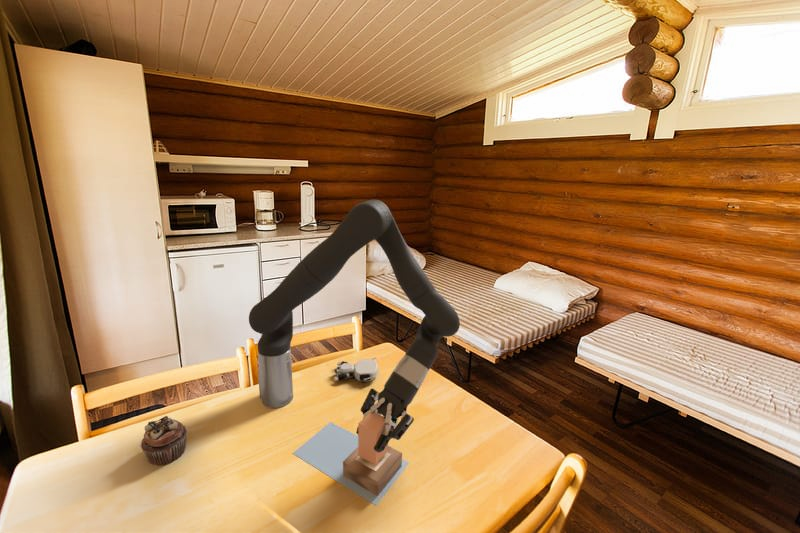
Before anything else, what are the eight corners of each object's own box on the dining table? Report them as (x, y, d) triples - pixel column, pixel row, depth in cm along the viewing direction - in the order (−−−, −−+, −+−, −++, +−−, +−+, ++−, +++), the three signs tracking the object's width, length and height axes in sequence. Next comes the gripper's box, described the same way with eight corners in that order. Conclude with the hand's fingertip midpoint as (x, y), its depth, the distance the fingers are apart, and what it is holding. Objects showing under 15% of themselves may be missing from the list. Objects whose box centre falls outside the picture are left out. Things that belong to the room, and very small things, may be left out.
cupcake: (197, 448, 92) (193, 414, 90) (158, 475, 84) (151, 439, 81) (175, 434, 97) (170, 402, 94) (135, 459, 88) (128, 424, 86)
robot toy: (333, 388, 120) (378, 386, 121) (331, 376, 119) (377, 374, 119) (338, 368, 132) (379, 366, 132) (337, 357, 131) (378, 355, 131)
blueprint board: (292, 455, 91) (292, 453, 91) (330, 423, 103) (330, 421, 103) (376, 507, 78) (376, 505, 78) (409, 464, 90) (409, 462, 90)
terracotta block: (358, 455, 85) (358, 423, 82) (371, 442, 89) (371, 411, 86) (375, 465, 82) (376, 432, 80) (387, 451, 86) (388, 419, 84)
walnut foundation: (343, 475, 85) (343, 460, 84) (368, 448, 93) (368, 435, 92) (377, 496, 80) (378, 481, 79) (401, 466, 88) (402, 452, 87)
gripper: (379, 360, 90) (340, 421, 86) (421, 386, 80) (378, 457, 76) (394, 371, 95) (358, 430, 91) (435, 397, 85) (396, 465, 81)
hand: (367, 442), depth 83 cm, fingers closed on terracotta block, 6 cm apart
